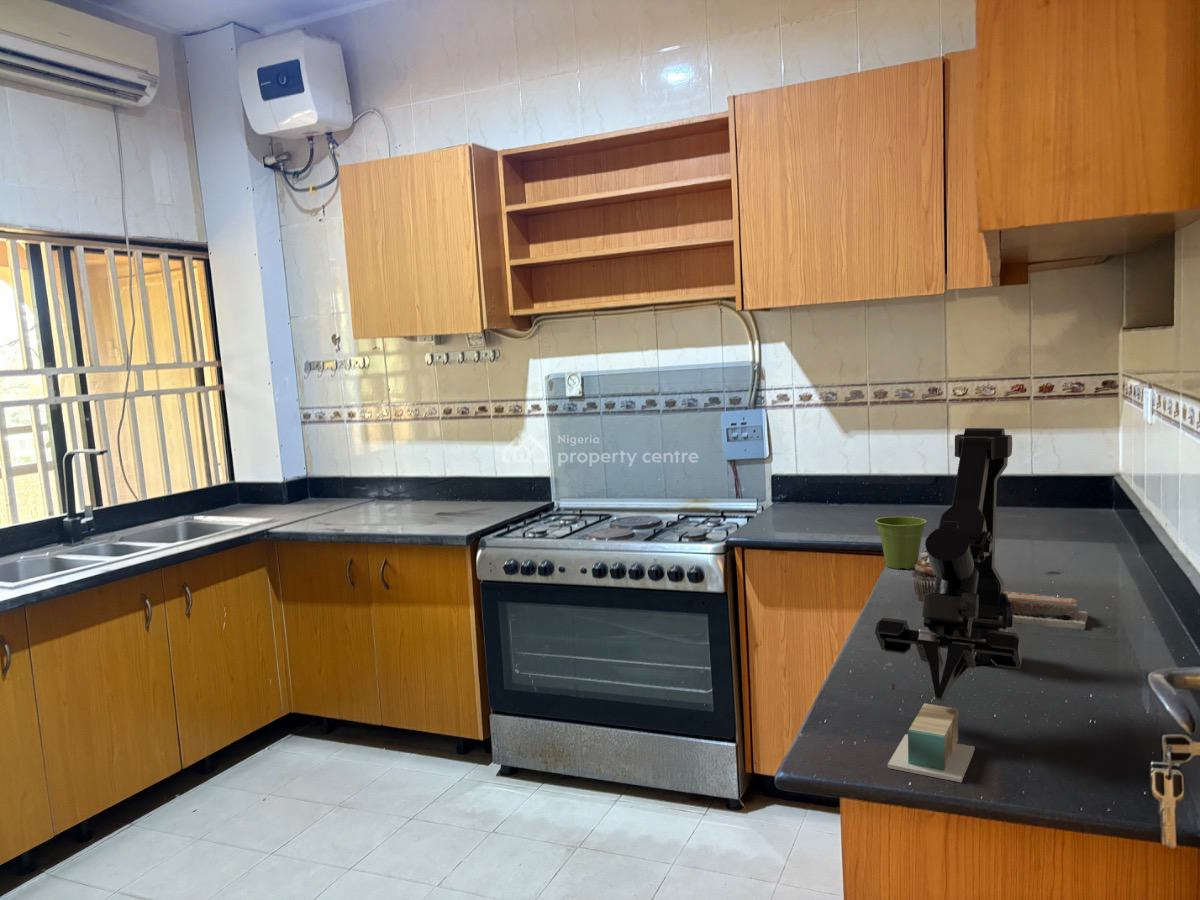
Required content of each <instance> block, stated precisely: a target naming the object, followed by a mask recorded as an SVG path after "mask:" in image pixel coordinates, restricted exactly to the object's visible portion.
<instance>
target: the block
mask: <svg viewBox="0 0 1200 900" xmlns="http://www.w3.org/2000/svg"><path fill="white" fill-rule="evenodd" d="M907 735H908V764H913V765H918V766H923V767H928V768H933V769H938V770H944V769H945V767H946V765H947V763H948V761H949V758H950V756H951V754H952V752H953V750H954V747H955V745H956V743H957V744H958V740H959V708H956V707H950V706H943V705H937V704H930V703H923V705H922V706H921V708H920V710H919V712H918V713H917V715H916V717H915V718H914V720H913V722H912V723H911V725H910V727H909V729H908V730H907Z"/></svg>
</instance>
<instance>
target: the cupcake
mask: <svg viewBox="0 0 1200 900" xmlns="http://www.w3.org/2000/svg"><path fill="white" fill-rule="evenodd" d="M919 555H920V556H919V557H920V559H918V563H917V564H916V565H915V568H914V570H913V572H912V574H911V580H912V585H913V591H914V595H915V599H916V600H917V601H919V602H922V603H923V601H924V594H932V593H933V591H934V584H935V578H936V576H935V575H934V574H933V571H932V568H931V564H930V561H929V557H928V554H927V550H924V552H920V553H919Z"/></svg>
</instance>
